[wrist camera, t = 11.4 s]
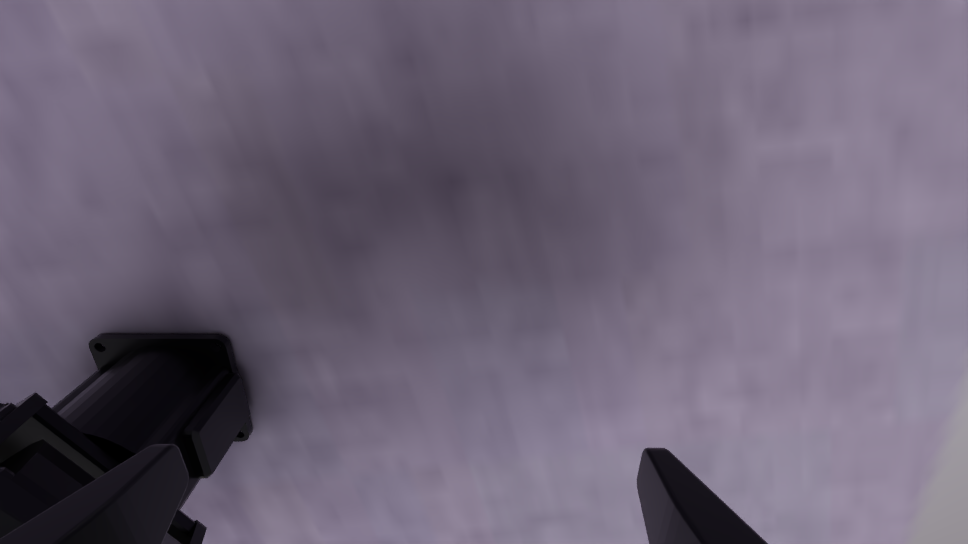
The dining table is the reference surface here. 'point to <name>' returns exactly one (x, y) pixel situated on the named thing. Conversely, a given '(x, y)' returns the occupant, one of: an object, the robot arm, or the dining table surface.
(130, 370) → the robot arm
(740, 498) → the dining table surface
